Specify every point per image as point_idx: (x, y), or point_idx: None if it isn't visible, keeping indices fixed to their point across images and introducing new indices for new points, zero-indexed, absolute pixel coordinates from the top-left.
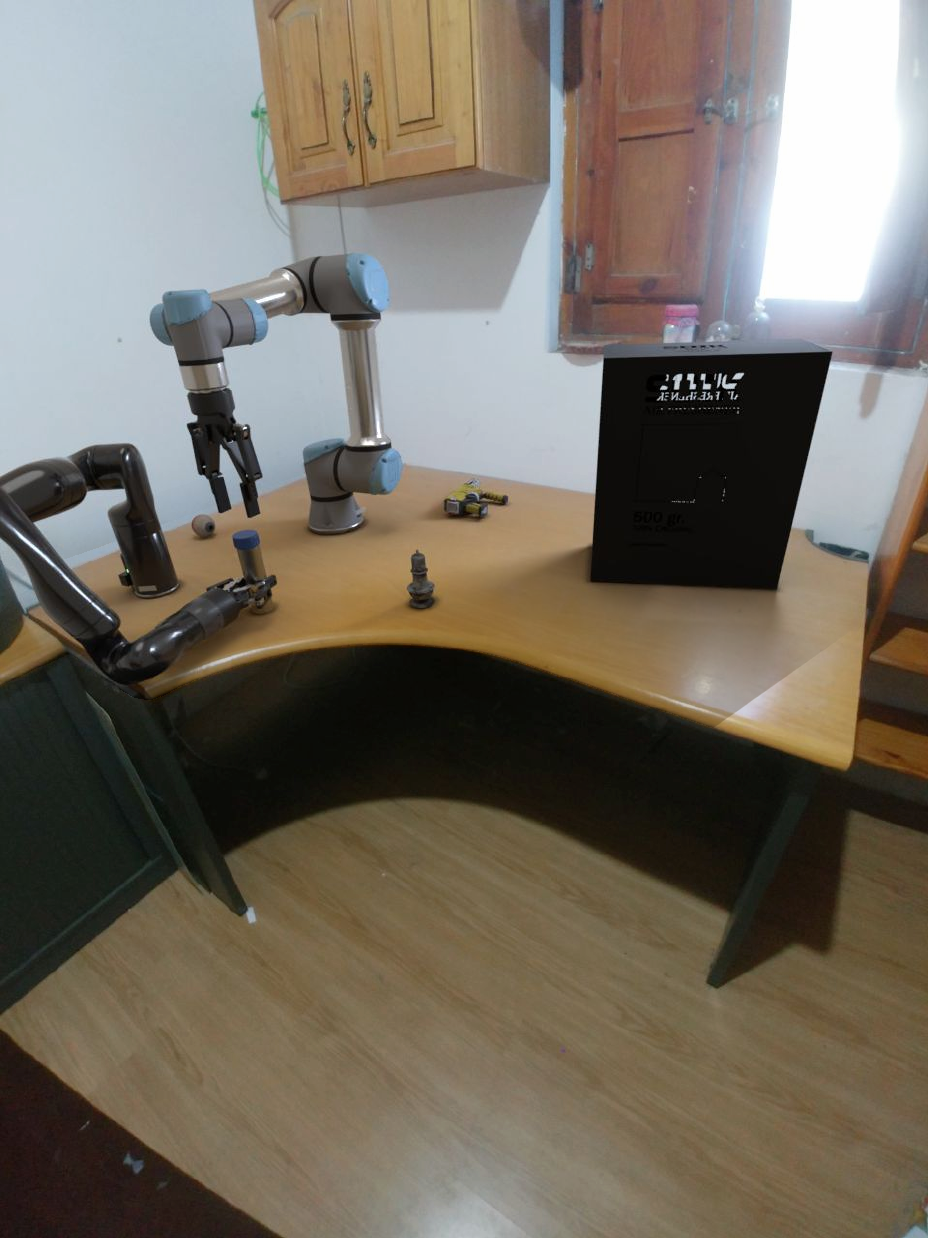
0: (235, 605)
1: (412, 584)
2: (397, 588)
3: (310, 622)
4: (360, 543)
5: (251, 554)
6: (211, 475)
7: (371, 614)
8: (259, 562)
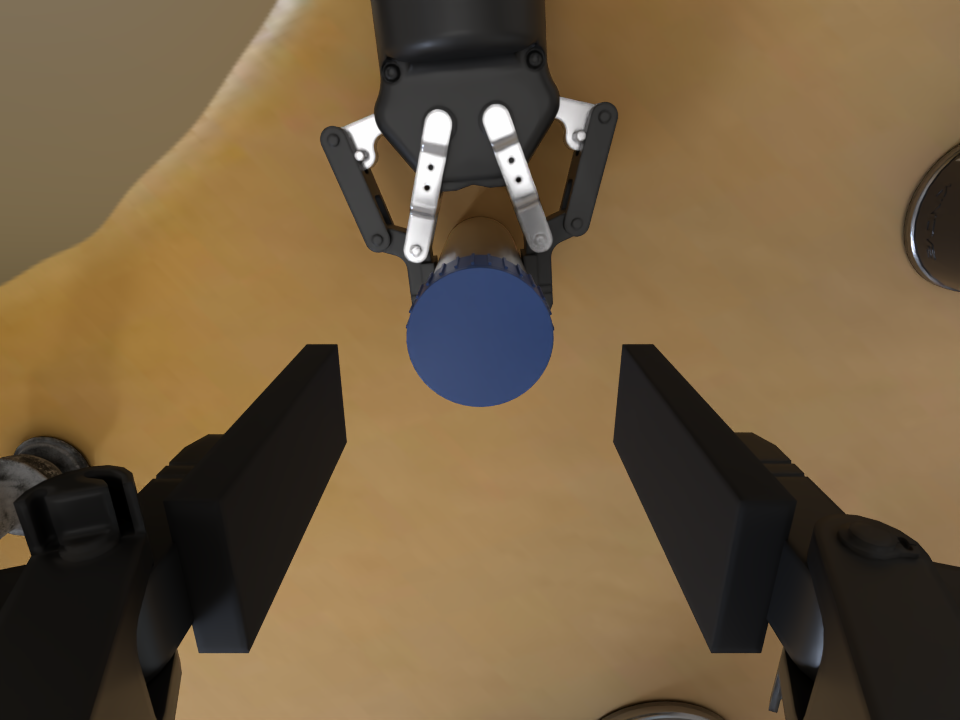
0: (377, 47)
1: (13, 490)
2: None
3: (262, 244)
4: (497, 690)
5: None
6: (815, 577)
7: (130, 359)
8: None
